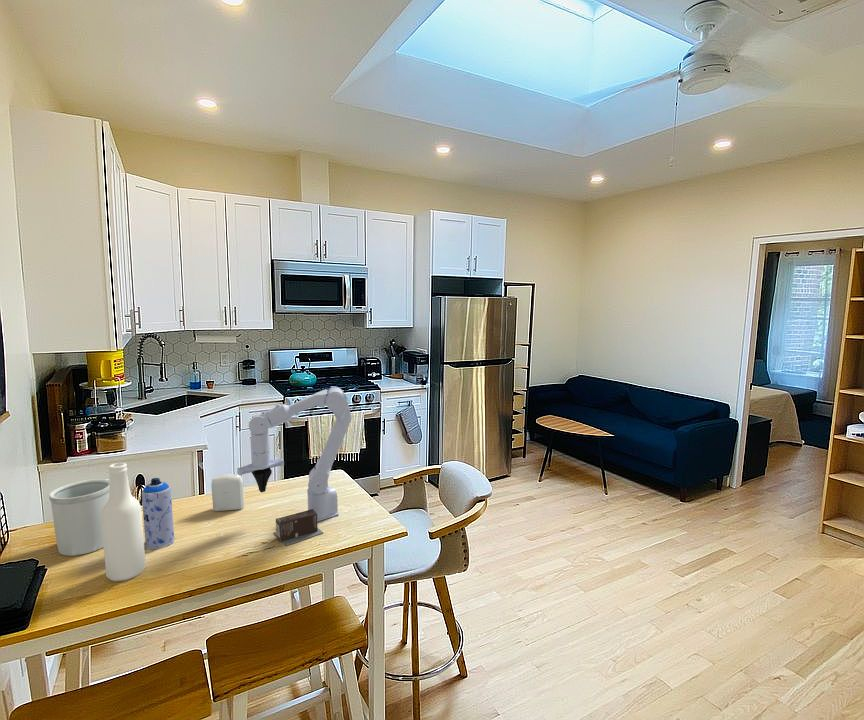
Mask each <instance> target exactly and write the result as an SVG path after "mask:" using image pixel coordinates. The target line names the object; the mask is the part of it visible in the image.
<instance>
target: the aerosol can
mask: <svg viewBox="0 0 864 720" xmlns="http://www.w3.org/2000/svg"><path fill="white" fill-rule="evenodd" d="M172 501H173V500H172V489H171V486H170V485H169V483H167V482H165V481H162V480H161V478H159V477H153V478H151V480H150V483H148V484H147V485H146V486H145V487H144V488H143V489H142V491H141V504H142V519H143V532H144V540H145V541H144V549H145V548H146V549H147V550H160V549H164V548H166V547H168V546H170V545H172V544H173V543H174V542H175V540H176V538H175V530H174V518H173V502H172Z"/></svg>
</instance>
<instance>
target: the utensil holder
mask: <svg viewBox="0 0 864 720" xmlns="http://www.w3.org/2000/svg"><path fill="white" fill-rule="evenodd" d="M48 499H49V501H50V503H51V510H52V517H53V518H52V519H53V528H54V534H55V541H56V546H57V550H58V553H59V554H60V555H62V556H65V557H67V556H68V557H69V556H70V557H72V556H74V557H75V556H80V555H81V556H82V555H85V554H89V553H93V552H95V551H99V550H101V549H104V544H103V533H102V522H101V513H102V509H103V507H104V506H105V504H106V503H107V502H108V500H109V479H105V478H94V479H85V480H80V481H75V482H71V483H68V484H64V485H62V486H59V487H58V488H55V489H54V490H52V491H51V492H49V494H48Z"/></svg>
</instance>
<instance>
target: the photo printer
mask: <svg viewBox="0 0 864 720" xmlns="http://www.w3.org/2000/svg"><path fill="white" fill-rule="evenodd" d="M242 476H243V475H241V476H239V475H238V474H233V473H226V474H219V475H217V476H214V477H212V479H211V498H212V499H211V500H212V509H213V511H214V512H221V511H235V510H236V511H237V510H242V509H244V508H245V499H244V496H245V494H244V481H243V477H242Z"/></svg>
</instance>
